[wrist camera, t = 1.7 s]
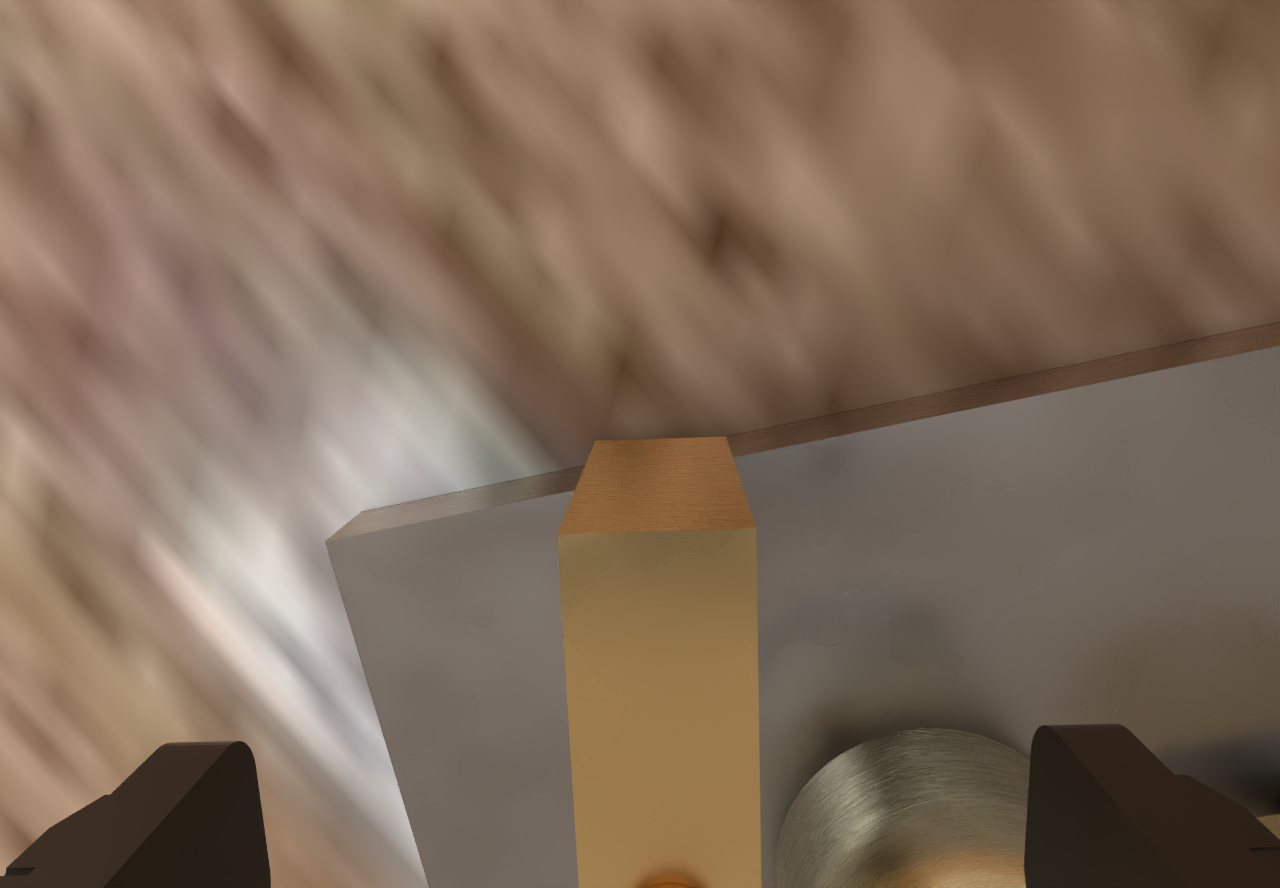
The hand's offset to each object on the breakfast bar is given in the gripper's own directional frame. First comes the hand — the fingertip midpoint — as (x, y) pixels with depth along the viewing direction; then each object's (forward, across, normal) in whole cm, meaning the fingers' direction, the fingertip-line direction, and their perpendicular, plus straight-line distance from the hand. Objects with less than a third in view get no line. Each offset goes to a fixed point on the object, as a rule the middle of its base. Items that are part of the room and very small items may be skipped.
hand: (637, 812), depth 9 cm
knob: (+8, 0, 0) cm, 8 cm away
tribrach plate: (+10, -5, +6) cm, 13 cm away
